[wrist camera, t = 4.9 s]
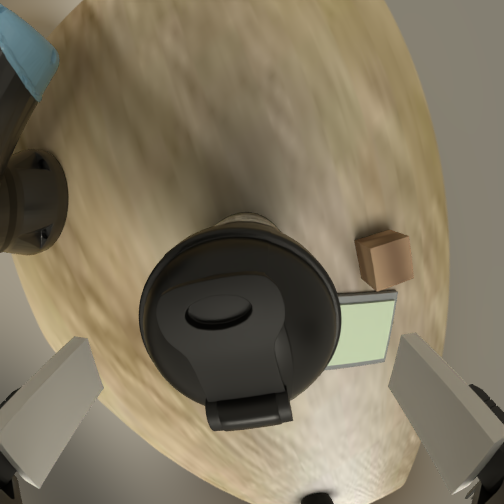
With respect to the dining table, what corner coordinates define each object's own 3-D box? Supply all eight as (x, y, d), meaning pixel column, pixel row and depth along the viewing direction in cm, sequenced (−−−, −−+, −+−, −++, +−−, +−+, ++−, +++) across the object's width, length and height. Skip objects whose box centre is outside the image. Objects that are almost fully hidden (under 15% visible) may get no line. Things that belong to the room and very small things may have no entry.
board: (224, 371, 36) (223, 376, 35) (218, 298, 34) (217, 302, 32) (382, 359, 36) (385, 363, 35) (395, 290, 34) (399, 293, 32)
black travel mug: (280, 196, 31) (354, 213, 9) (296, 281, 33) (363, 427, 11) (193, 215, 31) (75, 273, 9) (214, 298, 34) (165, 454, 11)
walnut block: (361, 278, 33) (377, 291, 28) (354, 240, 32) (370, 248, 27) (394, 266, 33) (413, 277, 28) (388, 229, 32) (408, 236, 27)
